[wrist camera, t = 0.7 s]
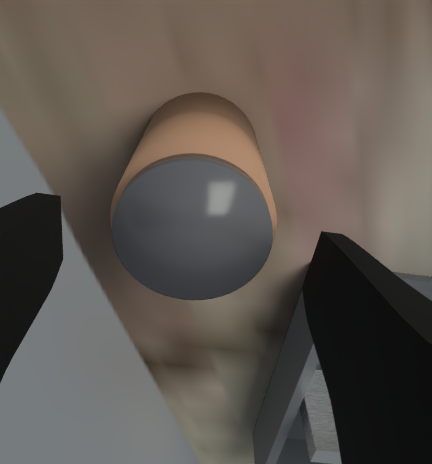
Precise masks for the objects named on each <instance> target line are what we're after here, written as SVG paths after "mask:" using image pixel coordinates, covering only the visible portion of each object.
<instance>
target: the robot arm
mask: <svg viewBox="0 0 432 464" xmlns="http://www.w3.org/2000/svg"><path fill="white" fill-rule="evenodd" d="M61 222H62V221H61V199H60V196H57V195H49V194H42V193H35V194H32V195H29V196H26V197H24V198H22V199H19V200H17V201H15V202H12V203H10V204H8V205H6V206H4V207H1V208H0V382H1V380H2V378H3V375H4V373H5V371H6V369H7V367H8V365H9V363H10V361H11V359H12V357H13V355H14V354H15V352H16V350H17V349H18V347H19V345H20V343H21V342H22V340H23V338H24V336H25V335H26V333H27V331H28V329H29V328H30V326H31V324H32V323H33V321H34V319H35V317H36V316H37V314H38V312H39V310H40V309H41V307H42V305H43V303H44V301H45V300H46V298H47V296H48V294H49V293H50V291H51V289H52V286H53V284H54V282H55V279H56V277H57V274H58V271H59V269H60V266H61V263H62V261H63V245H62V223H61ZM302 291H303V299H304V306H305V313H306V319H307V322H308V326H309V329H310V333H311V336H312V339H313V343H314V346H315V349H316V353H317V356H318V359H319V363H320V366H321V369H322V373H323V376H324V379H325V382H326V386H327V389H328V393H329V397H330V401H331V406H332V411H333V417H334V422H335V427H336V433H337V438H338V444H339V451H340V457H341V463H342V464H432V301H431V300H430V299H428V298H427V297H425V296H424V295H423V294H421V293H420V292H418V291H417V290H416V289H414V288H413V287H411V286H410V285H409V284H407V283H406V282H405V281H403V280H402V279H401V278H399V277H398V276H397V275H395V274H394V273H393V272H392V271H390V270H389V269H388V268H386V267H385V266H384V265H383V264H381V263H380V262H379V261H378V260H376V259H375V258H374V257H373V256H371V255H370V254H369V253H368V252H366V251H365V250H364V249H363V248H361V247H360V246H359V245H357V244H356V243H355V242H353V241H352V240H351V239H349V238H348V237H346V236H345V235H343V234H337V233H330V232H323V231H322V232H321V234H320V237H319V240H318V243H317V246H316V249H315V252H314V255H313V258H312V261H311V264H310V267H309V270H308V272H307V275H306V278H305V281H304V284H303V287H302Z"/></svg>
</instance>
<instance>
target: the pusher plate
mask: <svg viewBox="0 0 432 464" xmlns="http://www.w3.org/2000/svg"><path fill="white" fill-rule="evenodd" d="M299 409H300V413H301V418H302V423H303V428H304V433H305V438H306V443H307V448H308V453H309V458H310V462H318V463H329V464H342V463H341V457H340V451H339V444H338V438H337V433H336V427H335V422H334V417H333V411H332V406H331V401H330V397H329V393H328V389H327V386H326V382H325V379H324V376H323V373H322V370H316V369H315V372H314V374H313V376H312V379H311V381H310V383H309V386H308V388H307V391H306V393H305V395H304V398H303V400H302V403H301V405H300V407H299Z"/></svg>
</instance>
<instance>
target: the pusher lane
mask: <svg viewBox="0 0 432 464" xmlns="http://www.w3.org/2000/svg"><path fill="white" fill-rule="evenodd" d="M393 273H394V272H393ZM394 274H395V275H397V276H398V277H399V278H401V279H402V280H403V281H405V282H406V283H407V284H409V285H410V286H411V287H413V288H414V289H416V290H417V291H418V292H420V293H421V294H423V295H424V296H425V297H427V298H428V299H430V300H431V301H432V277H425V276H417V275H409V274H402V273H394ZM315 369H316V370H322V369H321V366H320V363H319V359H318V356H317V353H316V349H315V346H314V343H313V339H312V336H311V333H310V329H309V326H308V322H307V319H306V313H305V306H304V299H303V291H301V294H300V296H299V299H298V302H297V305H296V308H295V311H294V314H293V317H292V320H291V323H290V326H289V329H288V331H287V334H286V337H285V340H284V343H283V346H282V349H281V352H280V355H279V358H278V361H277V364H276V366H275V369H274V372H273V375H272V378H271V381H270V384H269V387H268V390H267V393H266V396H265V399H264V401H263V404H262V407H261V410H260V413H259V416H258V419H257V422H256V425H255V428H254V431H253V444H254V456H255V464H329V463H318V462H310V458H309V453H308V448H307V443H306V438H305V433H304V428H303V423H302V418H301V413H300V409H299V407H300V405H301V403H302V400H303V398H304V395H305V393H306V391H307V388H308V386H309V383H310V381H311V379H312V376H313V374H314V372H315Z"/></svg>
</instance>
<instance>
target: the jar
mask: <svg viewBox="0 0 432 464" xmlns="http://www.w3.org/2000/svg"><path fill="white" fill-rule="evenodd" d="M276 224H277V216H276V208H275V204H274V200H273V197H272V193H271V190H270V186H269V183H268V179H267V175H266V172H265V168H264V165H263V161H262V158H261V154H260V150H259V147H258V143H257V140H256V136H255V132H254V130H253V127H252V125H251V123H250V121H249V120H248V118H247V117H246V115H245V114H244V113H243V111H241V110H240V109H239V108H238V107H237V106H236V105H235V104H233V103H232V102H231V101H229V100H227V99H225V98H223V97H220V96H218V95H214V94H210V93H201V92H200V93H189V94H184V95H181V96H178V97H176V98H174V99H172V100H170V101H168V102H167V103H165V104H164V105H163V106H162V107H160V108H159V109H158V110H157V112H156V113H155V114H154V115H153V117H152V118H151V120H150V122H149V124H148V126H147V128H146V130H145V132H144V134H143V136H142V138H141V140H140V142H139V144H138V146H137V148H136V150H135V152H134V154H133V156H132V158H131V160H130V162H129V164H128V166H127V168H126V170H125V172H124V175H123V177H122V179H121V181H120V183H119V185H118V187H117V189H116V191H115V194H114V196H113V200H112V203H111V210H110V225H111V230H112V239H113V244H114V247H115V250H116V253H117V255H118V257H119V259H120V261H121V263H122V264H123V265H124V267H125V268H126V270H127V271H128V272H129V273H130V274H131V275H132V276H133V277H134V278H135V279H136V280H138V281H139V282H140V283H142V284H143V285H144V286H146V287H147V288H149V289H151V290H153V291H155V292H157V293H160V294H163V295H165V296H169V297H172V298H177V299H183V300H205V299H212V298H216V297H221V296H223V295H226V294H229V293H231V292H233V291H235V290H237V289H239V288H241V287H242V286H244V285H245V284H247V283H248V282H249V281H250V280H251V279H253V278H254V277H255V275H256V274H257V273H258V272H259V271H260V270H261V268H262V267H263V265H264V264H265V262H266V260H267V258H268V256H269V253H270V250H271V246H272V243H273V240H274V237H275V232H276Z"/></svg>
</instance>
